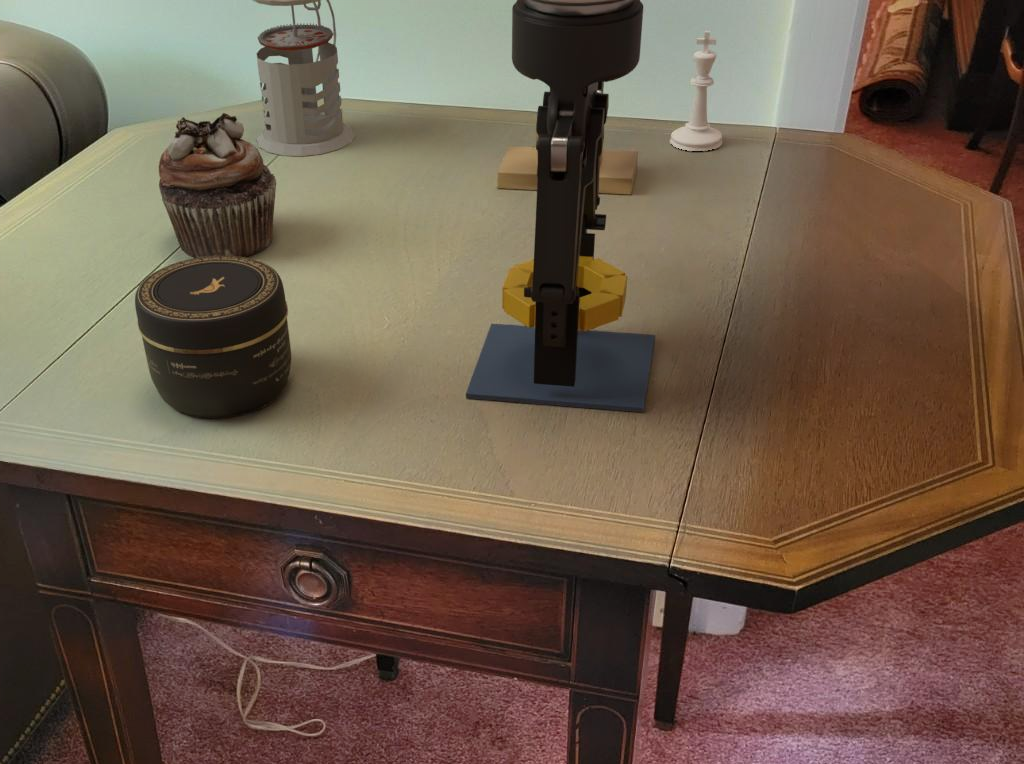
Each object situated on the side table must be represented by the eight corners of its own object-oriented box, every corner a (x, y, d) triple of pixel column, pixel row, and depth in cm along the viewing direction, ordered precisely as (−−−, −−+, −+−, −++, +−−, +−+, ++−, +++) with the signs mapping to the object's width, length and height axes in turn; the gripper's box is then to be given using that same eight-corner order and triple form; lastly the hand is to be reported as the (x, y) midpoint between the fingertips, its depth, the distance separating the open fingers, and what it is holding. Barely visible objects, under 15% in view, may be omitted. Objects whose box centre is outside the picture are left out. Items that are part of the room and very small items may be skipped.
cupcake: (174, 272, 99) (151, 150, 93) (166, 225, 107) (145, 108, 100) (290, 256, 101) (275, 135, 94) (275, 211, 108) (260, 95, 101)
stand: (637, 167, 112) (647, 29, 104) (631, 194, 108) (641, 52, 100) (508, 161, 115) (509, 26, 107) (497, 188, 110) (497, 48, 102)
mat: (655, 339, 88) (655, 334, 88) (643, 412, 81) (644, 407, 80) (491, 328, 90) (491, 323, 90) (465, 398, 83) (465, 393, 83)
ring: (629, 280, 84) (630, 258, 83) (618, 335, 78) (619, 313, 77) (515, 273, 86) (515, 251, 85) (495, 327, 80) (495, 304, 79)
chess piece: (671, 132, 119) (681, 22, 112) (722, 134, 118) (735, 23, 111) (668, 151, 115) (678, 39, 108) (721, 152, 114) (735, 40, 108)
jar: (313, 356, 88) (302, 256, 83) (271, 430, 81) (257, 326, 76) (182, 346, 90) (164, 248, 85) (131, 418, 82) (107, 316, 77)
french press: (238, 149, 120) (198, -144, 103) (293, 110, 128) (263, -168, 111) (328, 161, 116) (300, -141, 100) (378, 119, 124) (360, -166, 108)
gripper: (539, -51, 78) (531, 279, 93) (480, 50, 63) (483, 426, 77) (657, -49, 77) (630, 285, 91) (627, 54, 61) (601, 436, 76)
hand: (563, 350), depth 84 cm, fingers closed on ring, 8 cm apart
